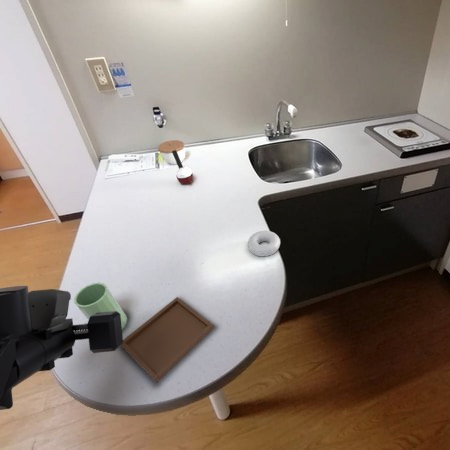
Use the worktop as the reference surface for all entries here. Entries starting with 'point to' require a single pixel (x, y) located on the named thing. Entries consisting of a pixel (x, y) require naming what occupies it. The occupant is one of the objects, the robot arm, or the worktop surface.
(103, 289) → the green cup
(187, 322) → the serving tray
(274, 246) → the donut
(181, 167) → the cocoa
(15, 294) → the robot arm
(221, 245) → the worktop surface
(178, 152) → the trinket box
